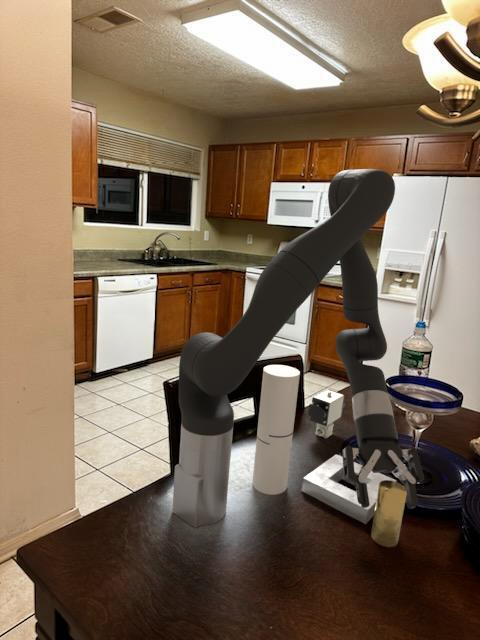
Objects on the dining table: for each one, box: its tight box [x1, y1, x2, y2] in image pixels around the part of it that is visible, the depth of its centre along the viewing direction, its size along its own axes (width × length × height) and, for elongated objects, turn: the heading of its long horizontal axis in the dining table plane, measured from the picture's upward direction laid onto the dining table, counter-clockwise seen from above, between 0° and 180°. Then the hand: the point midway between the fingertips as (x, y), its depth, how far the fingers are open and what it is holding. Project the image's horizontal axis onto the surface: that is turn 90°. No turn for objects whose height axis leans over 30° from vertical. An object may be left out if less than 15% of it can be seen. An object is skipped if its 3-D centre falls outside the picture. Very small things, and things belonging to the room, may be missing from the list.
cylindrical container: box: [252, 364, 301, 496], centre depth 89 cm, size 7×7×25 cm
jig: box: [301, 454, 397, 525], centre depth 91 cm, size 14×14×3 cm
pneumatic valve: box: [307, 389, 346, 439], centre depth 115 cm, size 6×12×12 cm, turn 141°
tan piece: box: [370, 480, 407, 548], centre depth 77 cm, size 5×5×10 cm
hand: (389, 507), depth 77 cm, fingers open, 8 cm apart
